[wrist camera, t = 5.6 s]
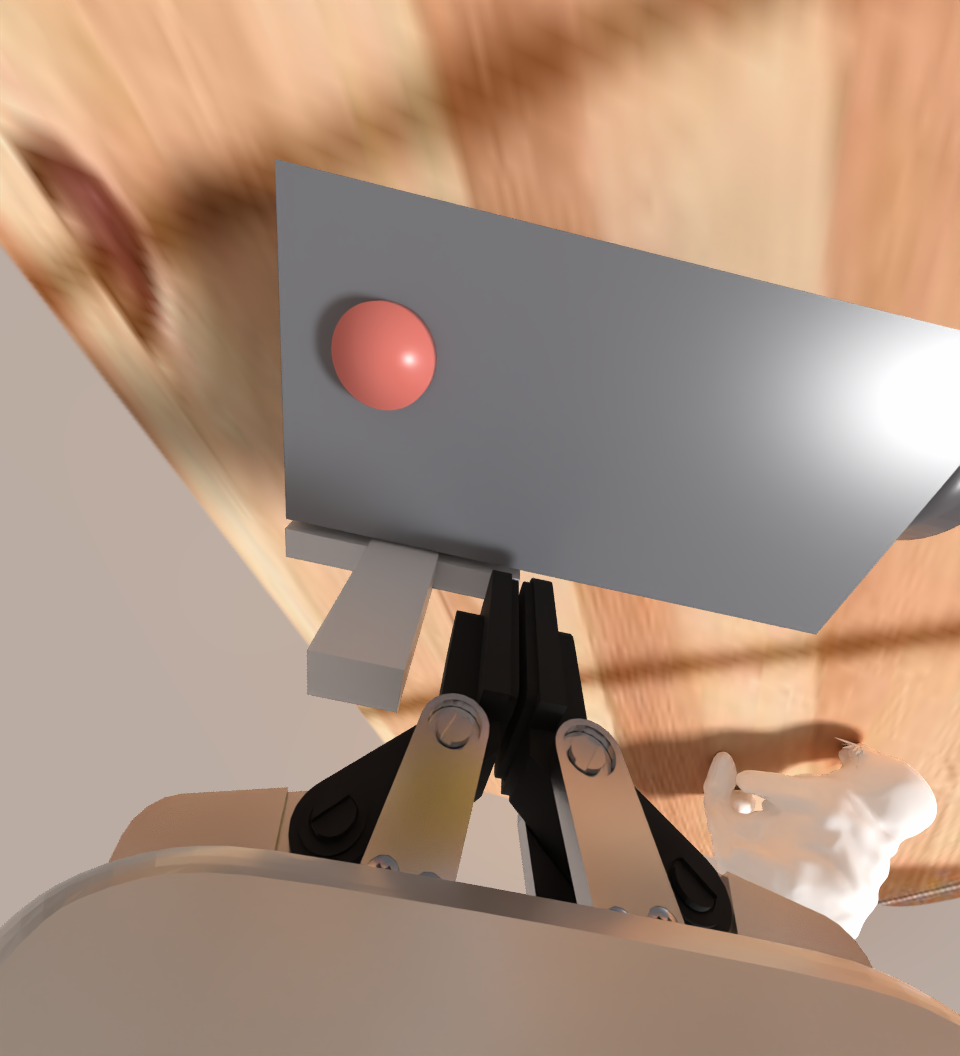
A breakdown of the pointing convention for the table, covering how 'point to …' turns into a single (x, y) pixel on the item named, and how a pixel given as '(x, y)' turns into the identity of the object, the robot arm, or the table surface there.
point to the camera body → (600, 406)
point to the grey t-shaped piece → (376, 610)
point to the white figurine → (818, 828)
